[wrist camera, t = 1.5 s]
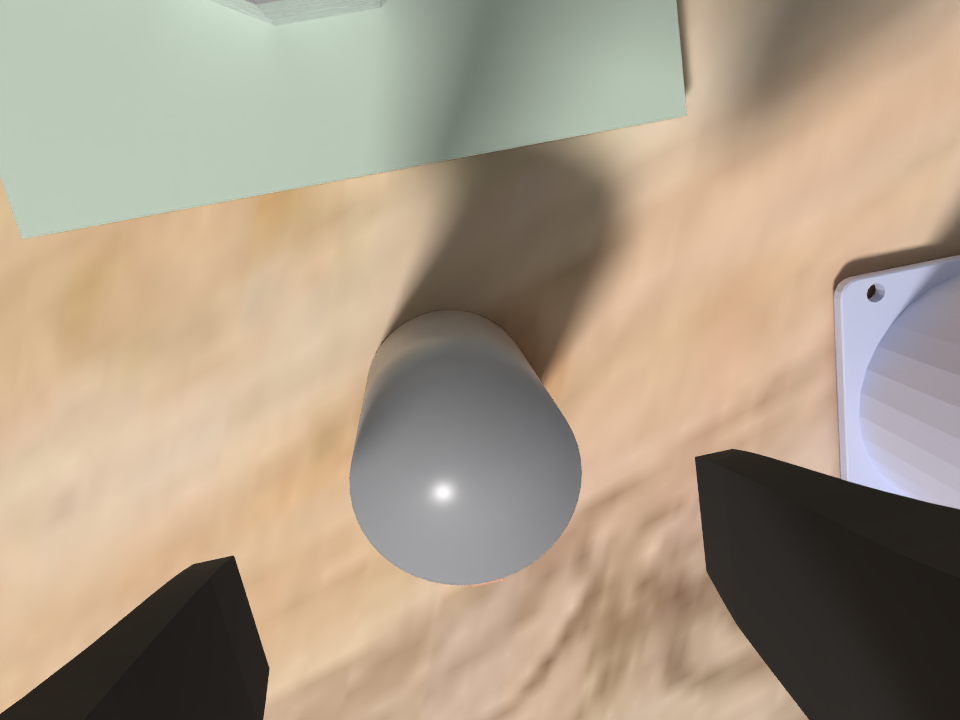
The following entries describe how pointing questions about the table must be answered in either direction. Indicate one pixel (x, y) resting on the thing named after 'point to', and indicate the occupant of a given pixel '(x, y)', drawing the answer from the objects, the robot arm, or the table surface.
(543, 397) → the grey rounded block
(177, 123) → the plate
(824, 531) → the robot arm
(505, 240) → the table surface
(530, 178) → the table surface
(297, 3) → the duct collar
